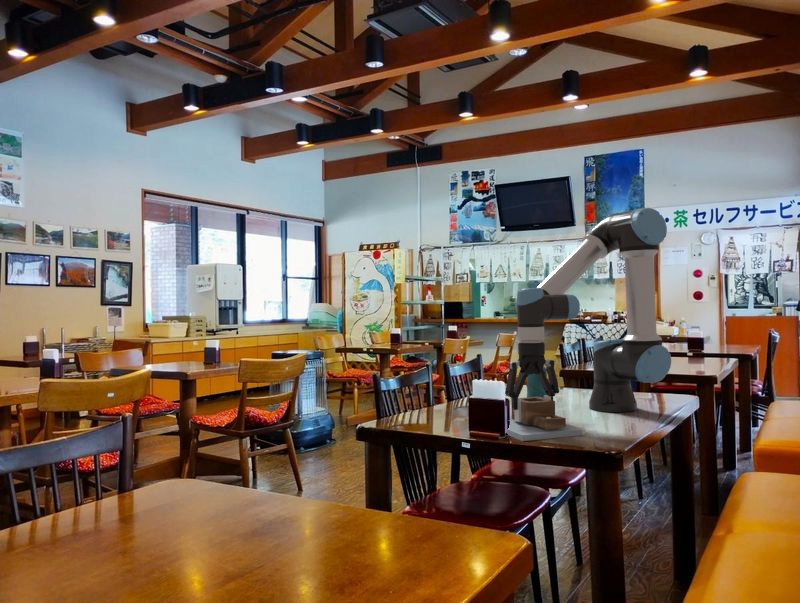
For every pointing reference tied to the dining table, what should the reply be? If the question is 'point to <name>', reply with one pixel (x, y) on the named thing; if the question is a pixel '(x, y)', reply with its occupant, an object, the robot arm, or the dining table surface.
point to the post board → (539, 431)
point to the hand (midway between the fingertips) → (533, 419)
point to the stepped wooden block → (540, 413)
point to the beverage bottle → (535, 385)
